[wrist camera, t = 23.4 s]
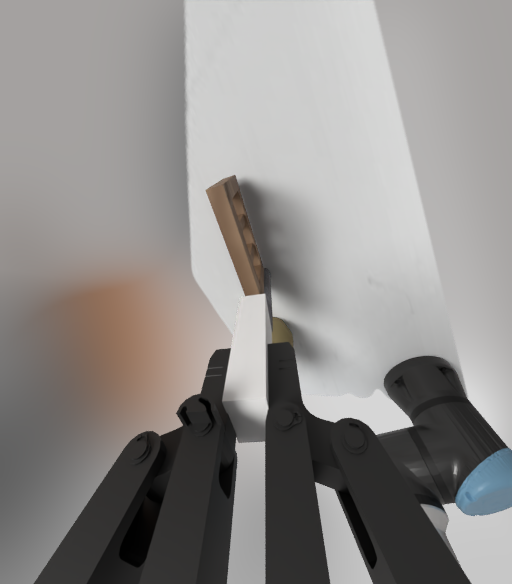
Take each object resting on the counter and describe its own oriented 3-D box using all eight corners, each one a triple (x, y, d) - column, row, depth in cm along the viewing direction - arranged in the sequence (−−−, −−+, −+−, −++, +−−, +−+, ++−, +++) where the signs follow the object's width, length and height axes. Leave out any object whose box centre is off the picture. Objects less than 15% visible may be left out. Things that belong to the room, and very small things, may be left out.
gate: (235, 175, 32) (222, 184, 22) (263, 269, 39) (263, 306, 29) (223, 179, 32) (205, 190, 22) (253, 271, 39) (250, 309, 30)
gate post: (273, 278, 42) (277, 332, 29) (258, 284, 43) (256, 340, 30) (265, 265, 41) (266, 316, 28) (251, 272, 42) (245, 324, 29)
